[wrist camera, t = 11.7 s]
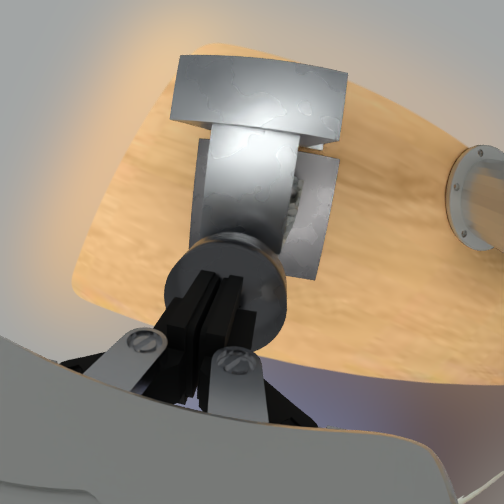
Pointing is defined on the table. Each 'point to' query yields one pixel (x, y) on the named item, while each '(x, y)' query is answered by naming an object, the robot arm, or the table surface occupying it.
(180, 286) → the disc
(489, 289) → the table surface
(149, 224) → the table surface
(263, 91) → the press frame
